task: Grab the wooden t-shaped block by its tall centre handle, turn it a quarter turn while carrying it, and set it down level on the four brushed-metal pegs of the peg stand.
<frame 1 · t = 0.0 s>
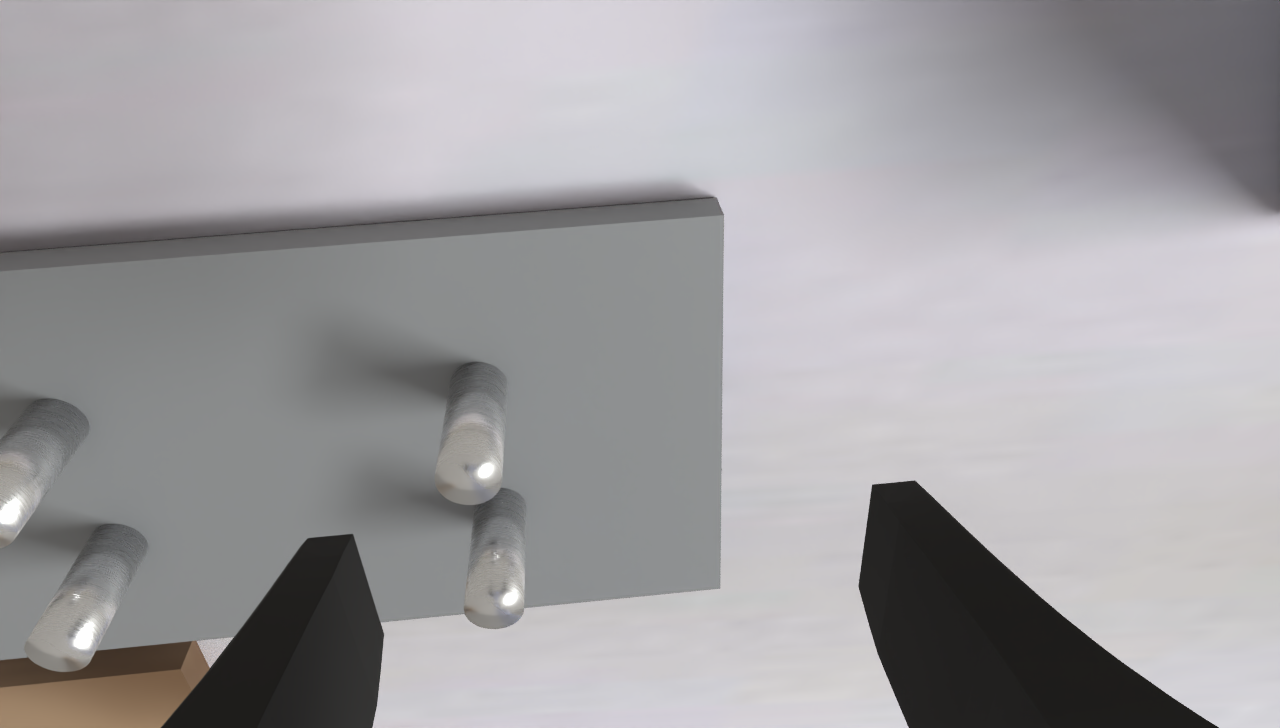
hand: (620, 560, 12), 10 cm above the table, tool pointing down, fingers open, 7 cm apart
peg stand: (301, 443, 23), on the table
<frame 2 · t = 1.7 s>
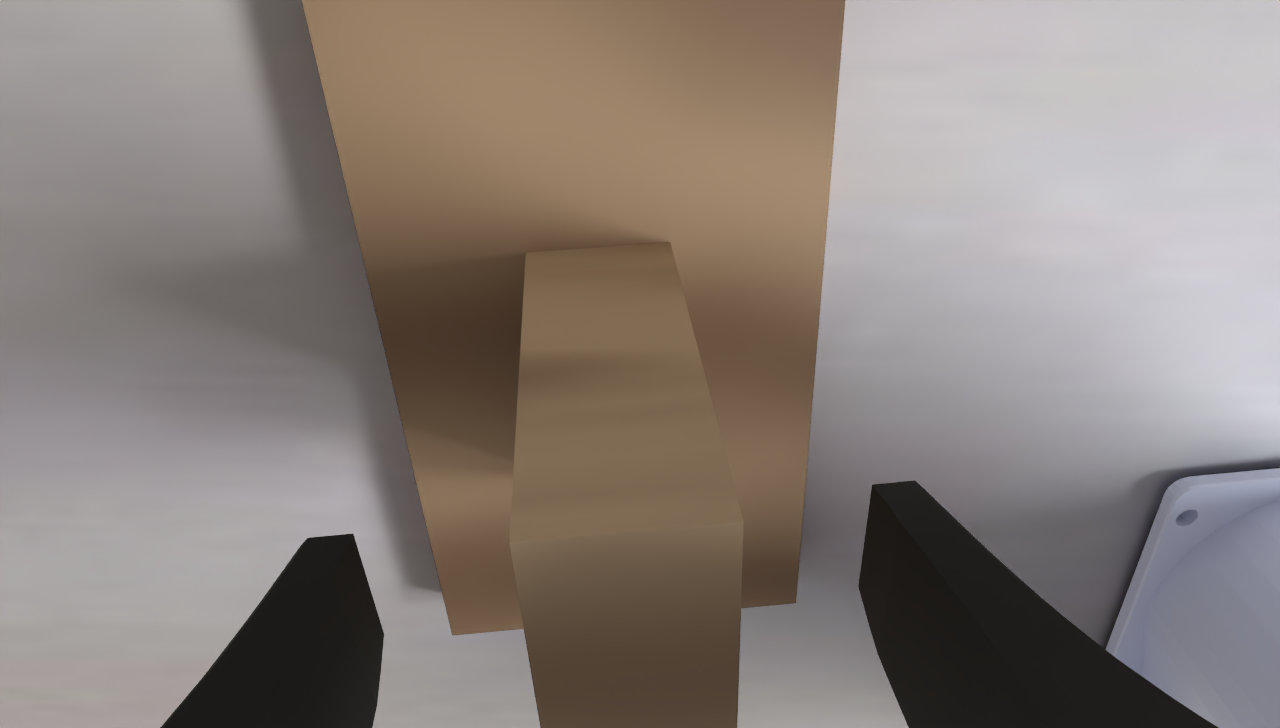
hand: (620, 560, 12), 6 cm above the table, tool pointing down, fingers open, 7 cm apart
wooden t-shaped block: (603, 327, 18), on the table
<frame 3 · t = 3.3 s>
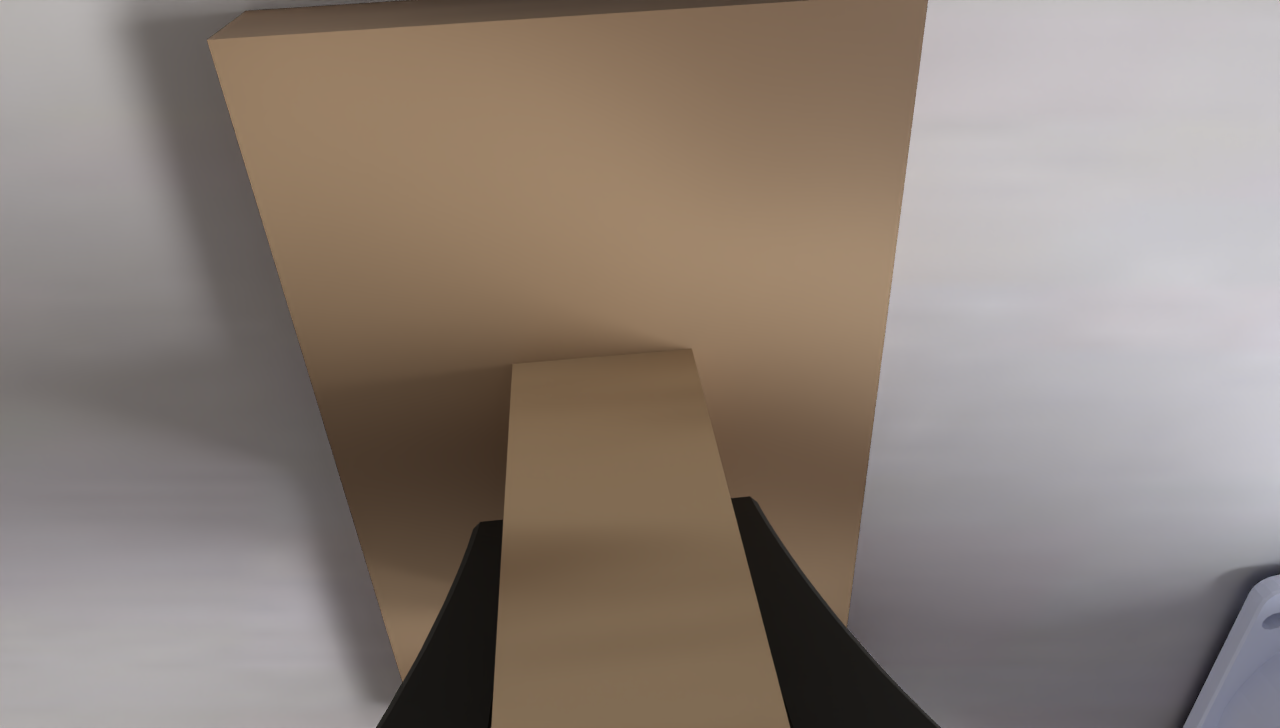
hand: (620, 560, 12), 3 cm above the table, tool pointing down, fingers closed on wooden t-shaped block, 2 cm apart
wooden t-shaped block: (607, 432, 15), on the table, touching gripper
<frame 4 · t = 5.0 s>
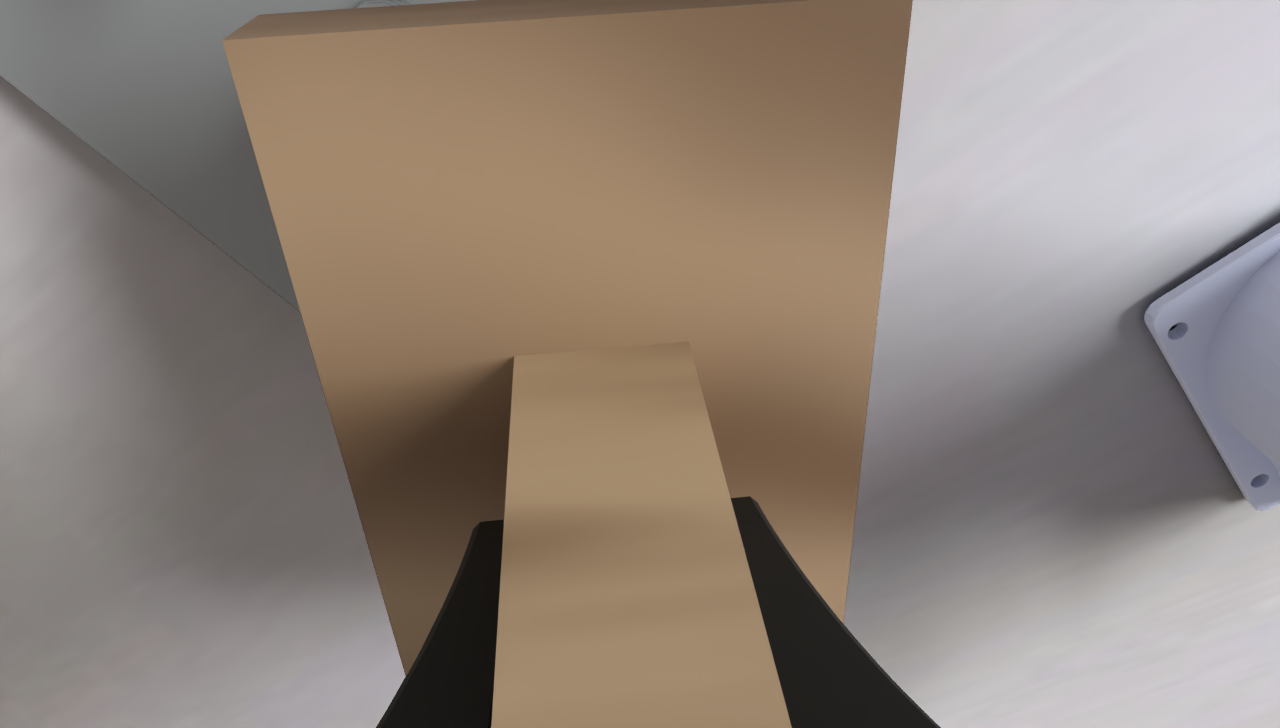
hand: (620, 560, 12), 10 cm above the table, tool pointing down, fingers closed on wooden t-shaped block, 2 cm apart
wooden t-shaped block: (607, 427, 15), point 7 cm above the table, touching gripper
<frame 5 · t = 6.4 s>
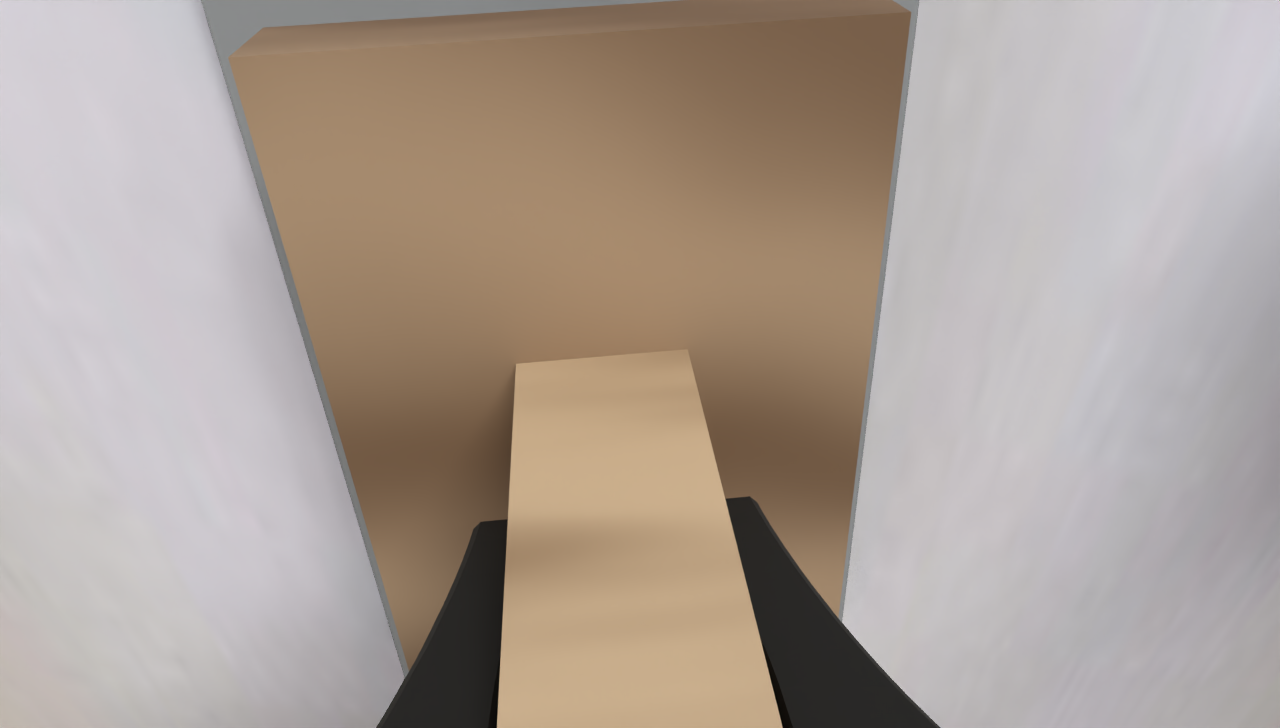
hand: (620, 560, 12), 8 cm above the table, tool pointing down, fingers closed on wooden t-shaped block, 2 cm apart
peg stand: (595, 291, 19), on the table
wooden t-shaped block: (607, 429, 15), point 4 cm above the table, touching gripper, peg stand
when the fingers open (8 cm above the table, at t = 7.1 s): wooden t-shaped block stays where it is, resting on peg stand.
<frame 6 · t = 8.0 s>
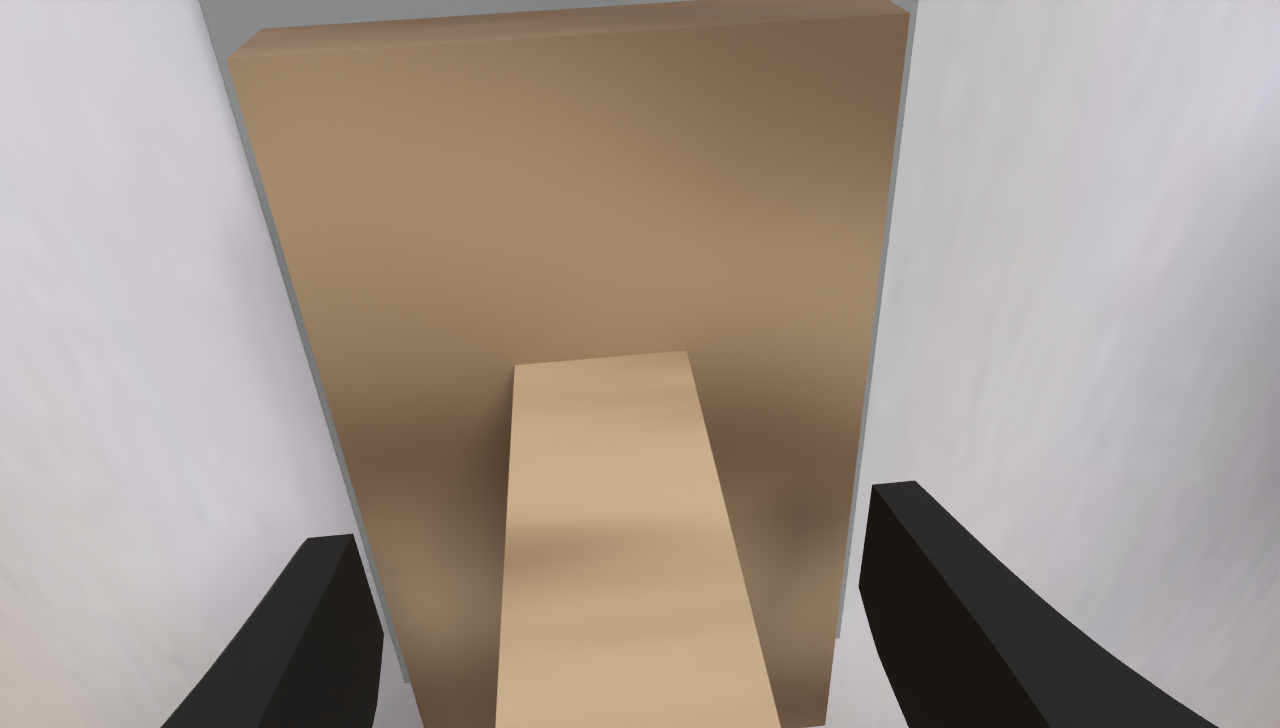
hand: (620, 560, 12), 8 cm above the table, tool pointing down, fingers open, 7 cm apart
peg stand: (594, 292, 19), on the table
wooden t-shaped block: (606, 431, 15), point 4 cm above the table, touching peg stand
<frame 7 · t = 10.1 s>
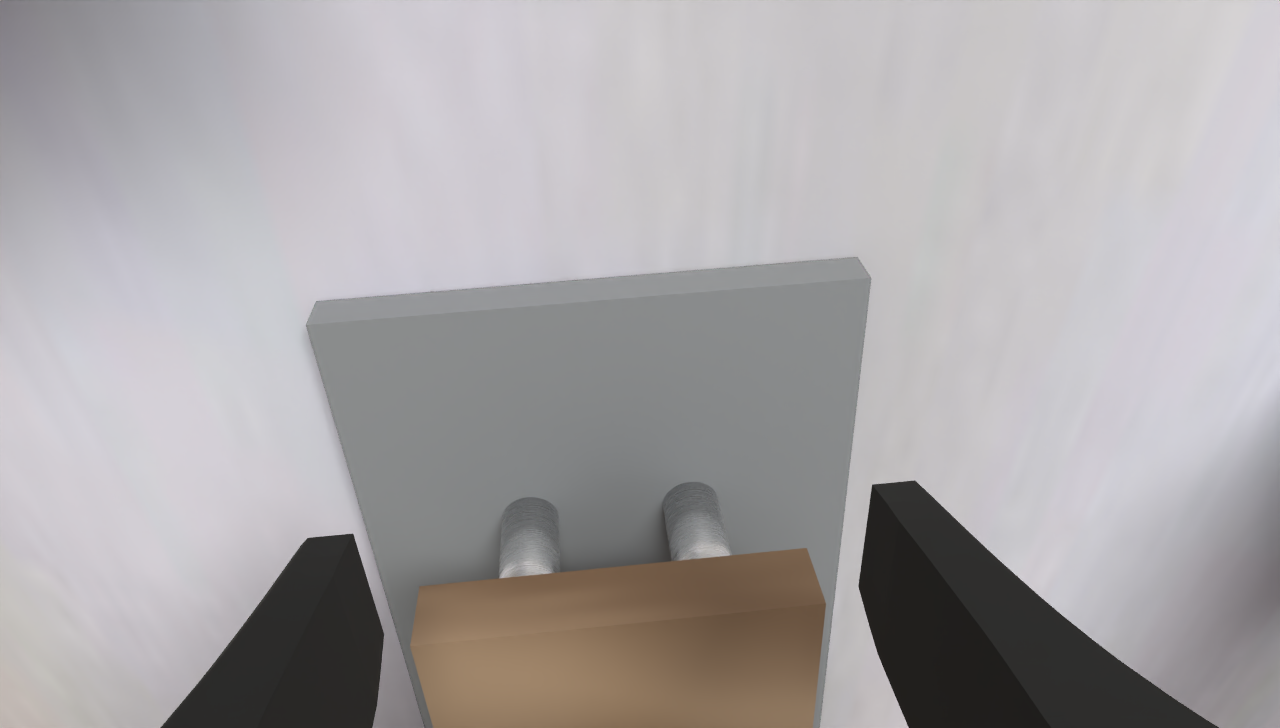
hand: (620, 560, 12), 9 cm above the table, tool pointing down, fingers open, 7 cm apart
peg stand: (619, 614, 26), on the table
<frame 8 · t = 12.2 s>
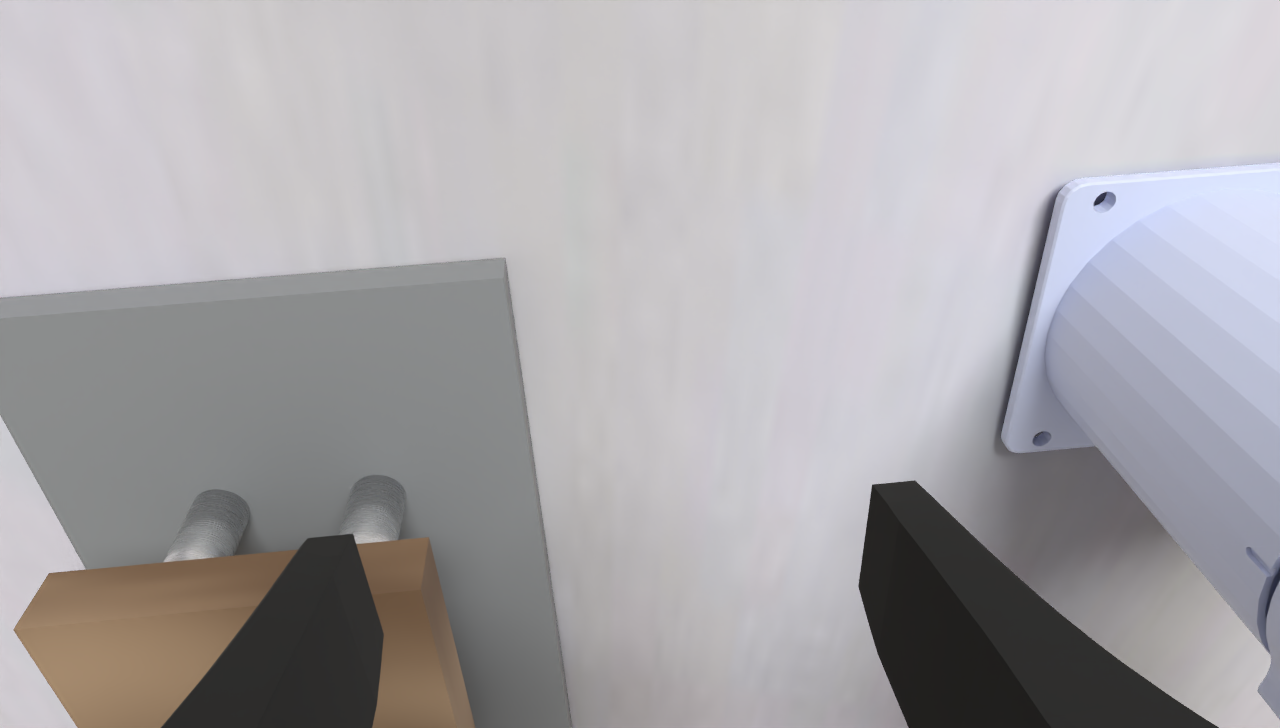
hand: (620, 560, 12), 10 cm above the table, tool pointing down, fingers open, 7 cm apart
peg stand: (351, 604, 26), on the table
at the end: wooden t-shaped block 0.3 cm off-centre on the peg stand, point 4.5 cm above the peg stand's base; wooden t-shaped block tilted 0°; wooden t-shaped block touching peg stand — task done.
